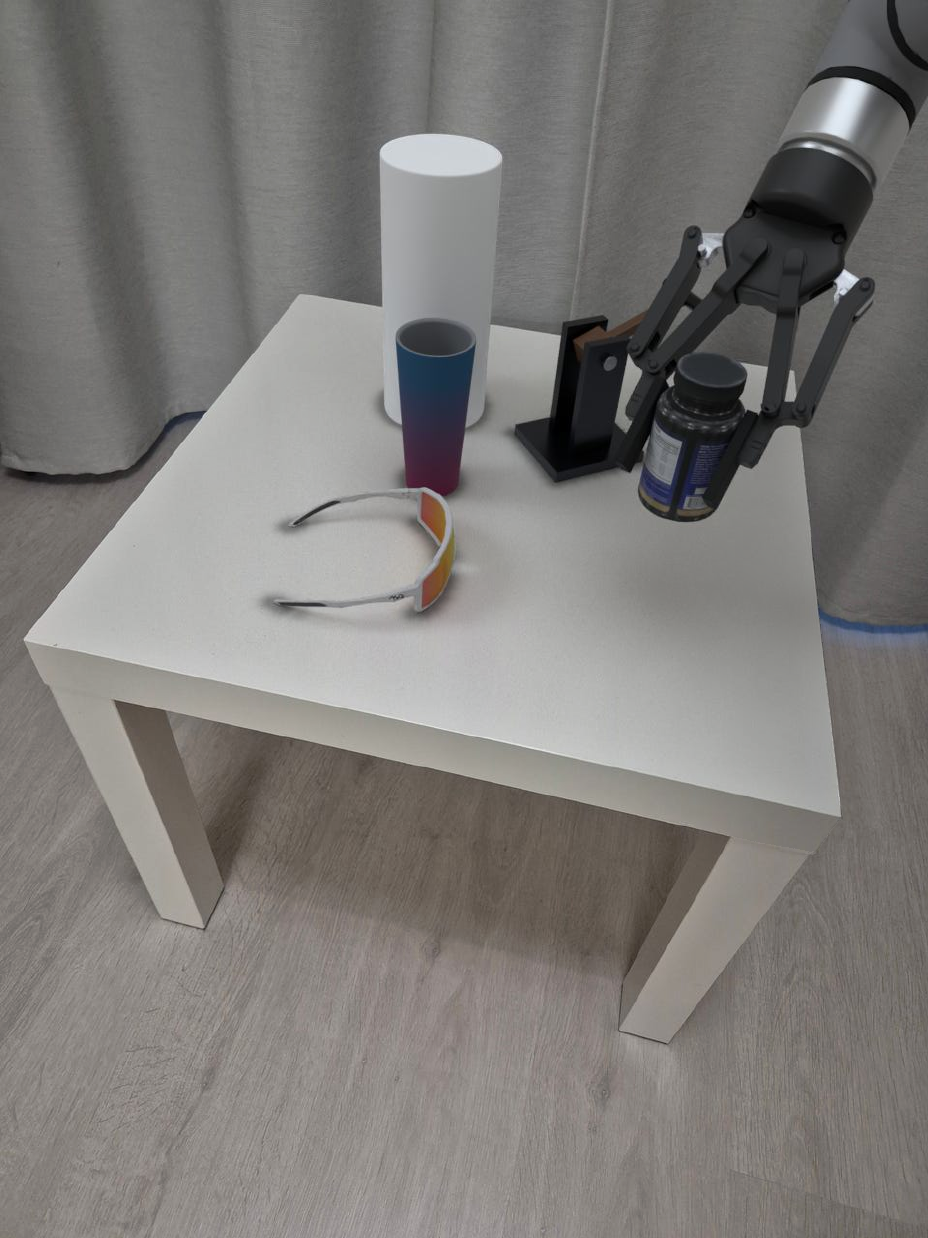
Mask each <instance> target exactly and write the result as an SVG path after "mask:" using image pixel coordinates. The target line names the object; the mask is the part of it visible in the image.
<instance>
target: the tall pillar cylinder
mask: <svg viewBox="0 0 928 1238" xmlns="http://www.w3.org/2000/svg"><path fill="white" fill-rule="evenodd" d="M502 173H503V155H502V153H501V152H500V151H499V149H497V148H496V147H495V146H493V145H492V144H490V143H488V142H486V141H482V140H479V139H477V138H476V139H475V138H472V137H469V136H464V135H456V134H448V133H419V134H418V133H417V134H411V135H405V136H401V137H398V138H394V139H392V140H390V141H388V142H386V143H384V145H382V147H380V150H379V187H380V188H379V192H380V193H379V194H380V195H379V197H380V198H379V199H380V200H379V201H380V250H381V253H380V254H381V255H380V256H381V303H382V304H381V306H382V307H381V309H382V310H381V311H382V357H383V358H382V359H383V360H382V361H383V364H382V365H383V403H384V410H385V412H386V414H387V415H388V417H389V418H390V419H391V420H393V421H394V423H396V424H398V425H400V426H402V420H401V407H400V393H399V380H398V366H397V353H396V339H395V336H396V332H397V330H398V329H399V328H400V327H401V326H402V325H404V324H405V323H408V322H410V321H413V320H417V319H422V318H444V319H450V320H454V321H457V322H460V323H462V324H464V325H466V326H468V327H469V328H471V329H472V331H473V332H474V333H475V335H476V347H475V355H474V363H473V371H472V379H471V386H470V394H469V402H468V410H467V418H466V426H465V429H467V428H469V427H470V426H472V425H474V424H476V423H477V422H478V421H479V420H480V419H481V417H482V416H483V415H484V411H485V404H486V403H485V402H486V390H487V389H486V388H487V375H488V363H489V362H488V361H489V347H490V337H491V334H490V333H491V322H492V309H493V295H494V294H493V293H494V283H495V268H496V255H497V243H498V242H497V241H498V227H499V215H500V214H499V213H500V201H501V199H500V198H501V188H502V175H503V174H502Z"/></svg>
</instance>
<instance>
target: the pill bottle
mask: <svg viewBox="0 0 928 1238" xmlns="http://www.w3.org/2000/svg"><path fill="white" fill-rule="evenodd" d="M747 380H748V371H747V369H746V368H745V366H744V365H743V364H742V363H741V362H739V361H738V360H737V359H735V358H733V357H730V356H728V355H725V354H722V353H719V352H711V351H694V352H692V353H690V354H687V355H685V356H683V357H682V358H680V359H679V361H678V363H677V365H676V369H675V372H674V373H673V379H672V381H673V385H671V386H669V388H668V389H666V390H665V391H664V392H663V393H662V395H661V396H660V397H659V400H658V401H657V405H656V411H655V415H654V419H653V424H652V428H651V432H650V436H649V438H648V440H647V446H646V451H645V454H644V455H645V456H644V458H643V465H642V469H641V474H640V477H639V482H638V485H637V495H638V499H639V501H640V503H641V505H642V506H643V507H644V508H645V509H647V511H649V512H650V513H651V514H653V515H654V516H656V517H659V518H661V519H664V520H667V521H668V520H669V521H672V522H677V523H695V522H701V521H702V520H705V519H708V518H709V517H711V516H712V515H713V514H714V513H716V511H717V510H715V509H712V508H710V507H708V506H706V504H705V502H704V500H703V499H702V496H703V494H704V492H705V490H706V488H707V486H708V484H709V482H710V480H711V478H712V477H713V475H714V473H715V471H716V469H717V467H718V465H719V463H720V461H721V459H722V457H723V455H724V453H725V451H726V449H727V447H728V446H729V444H730V442H731V440H732V438H733V436H734V434H735V432H736V430H737V428H738V426H739V424H740V422H741V420H742V418H743V417H744V415H745V413H746V408H745V405H744V404H743V402H742V399H740V398H741V396H742V395H743V393H744V391H745V388H746V382H747Z"/></svg>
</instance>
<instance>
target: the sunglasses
mask: <svg viewBox="0 0 928 1238" xmlns="http://www.w3.org/2000/svg"><path fill="white" fill-rule="evenodd" d="M377 497H380V498H381V497H386V498H393V499H398V500H405V499H411V500H416V506H417V507H416V508H417V512H416V513H417V514H416V520H417V523H419V524H420V525H421V526H422V528H424V529H425V530H426V532H427V533H428V535H430V537H432V538H433V540H434V541H435V544H437V546H438V548H437V552H436V554H435V555H434V556H433V558H432V562H431V563H430V564H429V566H427V568H426V569H425V570H424V571H423V572H422V573H421V574H420V575H419V576H418V577H417V578H416V579H415V581H414V582H413V583H411V584H408V585H405V586H401V587H399V588H395V589H392V590H389V591H386V592H383V593H379V594H375V595H369V596H364V597H360V598H350V599H339V600H336V599H273V603H275V604H277V605H278V606H281V607H294V608H296V607H297V608H299V607H300V608H335V609H344V608H349V607H354V606H361V605H367V604H379V603H396V602H399V601H401V600H404V599H406V598H411V597H413V611H414V612H416V613H420V612H421V613H422V612H423V611H425V610H427V609H428V608H429V607H431V606H432V605H433V604H434V603H435V602H437V600H438V599H439V597H440V596H441V595H442V593H443V592H444V590H445V588H446V587H447V584H448V582H449V580H450V577H451V574H452V572H453V567H454V564H455V560H456V557H457V549H458V543H457V541H455V533H454V526H453V525H454V518H453V515H452V510H451V508H450V506H449V504H448V502H447V501H446V500H445V498H444V496H441V495H440V494H439V493H438V494H437V493H435V492H434V491H432V490H430V489H428V488H426V487H423V488H408V487H403V488H401V487H400V488H388V489H379V490H378V489H377V490H369V491H364V492H359V493H352V494H345V495H339V496H336V497H333V498H330V499H328V500H326V501H323V502H321V503H319V504H317V505H315V506H314V507H312V508H310V509H308V510H307V511H305V512H304V513H302V514H301V515H299V516H298V517H296V518H295V519H293V520H292V521H291V522H289V524H288V526H289V527H291V528H295V527H297V526H299V525H300V524H302V523H303V522H305V521H306V520H308V519H310V518H311V517H313V516H315V515H316V514H319V513H320V512H322V511H325V510H326V509H329V508H331V507H334V506H337V505H342V504H346V503H354V502H359V501H361V500H365V499H371V498H377Z"/></svg>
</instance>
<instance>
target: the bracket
mask: <svg viewBox="0 0 928 1238" xmlns="http://www.w3.org/2000/svg"><path fill="white" fill-rule="evenodd" d="M608 325H609V318H608V317H606V316H605V315H604V314H600V315H595V316H589V317H583V318H579V319H573V320H572V319H571V320H566V321H563V322H562V325H561V326H562V327H561V333H560V342H559V348H558V356H557V363H556V369H555V376H554V383H553V393H552V400H551V405H550V406H551V407H550V413H549V416H547V417H542V418H539V419H533V420H530V421H525V422H520V423H516V424H514V432H513V434H514V436H515V437H516V438H517V439H518V440H519V441H520V442H521V444H522V445H523V446H524V447H525V448H526V449H527V451H528V452H529V453H530V454H531V456H532V457H533V458H534V459H535V460H536V461H537V462H538V464H539V465H540V466H541V467H542V469H544V471H545V472H546V473H547V474H548V476H550V478H551V479H552V481H554V483H560V482H563V481H567V480H572V479H575V478H581V477H584V476H589V475H593V474H597V473H600V472H605V471H608V470H613V469H617V468H620V467H619V466H618V465H617V464H616V463H615V461H614V460H613V459H614V457H615V455H616V453H617V451H618V449H619V447H620V445H621V443H622V441H623V439H624V437H625V435H626V433H627V432H625V431H624V430H623V429H622V427H620V426H619V425H618V424H617V423H616V419H617V414H618V409H619V405H620V404H619V403H620V397H621V393H622V389H623V382H624V377H625V373H626V367H627V363H628V362H627V361H628V358H629V353H628V351H627V346H628V343H629V342H630V340H631V338H630V337H628V336H627V335H621V336H615V337H610V338H605V339H600V340H594V341H589V342H585V343H584V349H583V356H582V362H581V363H580V362H579V361H578V360H577V355H576V351H575V347H574V342H573V340H574V339H576V338H578V337H579V336H581V335H583V334H585V333H587V332H588V331H590V330H592V329H594V328H595V327H597V326H599V327H601V328H602V329H603V330H604V331H605V332H606V333H607V332H608ZM644 455H645V451H644V450H643V449H642V451H641V453H640V455H639V457H638V459H637V461H636V463H635V464H638V463H641V462H643V461H644V457H645V456H644Z"/></svg>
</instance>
